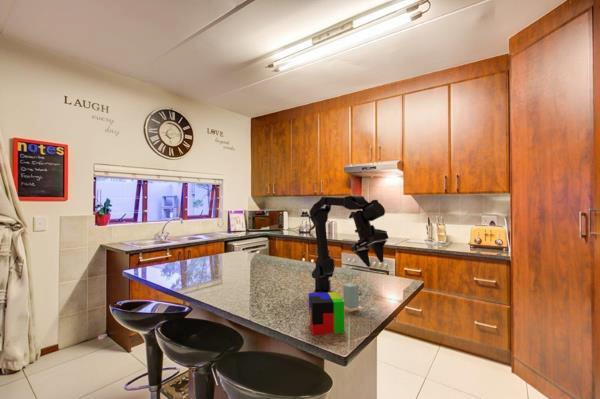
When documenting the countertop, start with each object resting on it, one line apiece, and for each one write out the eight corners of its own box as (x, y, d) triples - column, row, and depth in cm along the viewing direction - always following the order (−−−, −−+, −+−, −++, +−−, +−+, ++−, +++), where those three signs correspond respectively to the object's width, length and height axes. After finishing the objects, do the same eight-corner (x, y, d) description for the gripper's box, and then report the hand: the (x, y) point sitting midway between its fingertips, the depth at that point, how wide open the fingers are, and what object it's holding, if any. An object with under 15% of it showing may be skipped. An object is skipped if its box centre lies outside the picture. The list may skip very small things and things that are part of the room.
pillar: (350, 311, 107) (349, 287, 107) (343, 308, 110) (343, 284, 110) (358, 309, 108) (358, 285, 109) (352, 306, 112) (351, 283, 112)
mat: (365, 309, 109) (365, 308, 109) (344, 314, 105) (344, 313, 105) (343, 299, 122) (343, 298, 122) (323, 303, 117) (323, 302, 117)
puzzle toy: (309, 322, 98) (308, 293, 99) (337, 321, 99) (337, 292, 99) (312, 335, 88) (312, 303, 89) (344, 334, 89) (344, 301, 89)
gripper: (393, 214, 107) (407, 255, 102) (368, 229, 124) (379, 265, 119) (368, 218, 103) (382, 261, 98) (345, 233, 120) (356, 270, 115)
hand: (375, 264), depth 108 cm, fingers open, 9 cm apart
